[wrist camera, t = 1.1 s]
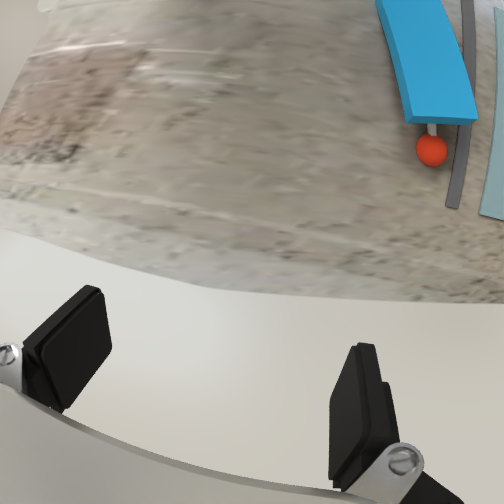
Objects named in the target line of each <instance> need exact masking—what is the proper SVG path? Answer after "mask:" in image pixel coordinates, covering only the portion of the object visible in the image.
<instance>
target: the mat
mask: <svg viewBox="0 0 504 504" xmlns="http://www.w3.org/2000/svg"><path fill="white" fill-rule="evenodd" d="M494 16H495V29H496V52H497V77H496V100H495V114H494V125H493V134H492V142H491V149H490V156H489V162H488V168H487V174H486V179H485V185H484V189H483V194H482V199H481V203H480V208H479V212H478V213H479V214H481V215H485V216H489V217H493V218H497V219H501V220H504V11H503V10H501V9H499V8H497V7H494Z"/></svg>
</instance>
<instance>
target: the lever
mask: <svg viewBox="0 0 504 504" xmlns="http://www.w3.org/2000/svg"><path fill="white" fill-rule="evenodd" d="M375 3H376V7H377V11H378V14H379V17H380V20H381V23H382V26H383V30H384V33H385V36H386V40H387V43H388V47H389V50H390V54H391V58H392V61H393V65H394V69H395V73H396V78H397V82H398V86H399V91H400V95H401V100H402V105H403V110H404V116H405V121H406V123H426V124H427V129H428V134H425V135H423V136H422V137H420V138H419V140H418V142H417V146H416V151H417V155H418V157H419V159H420V160H421V161H422V162H423V163H424V164H426V165H428V166H433V167H434V166H438V165H440V164H442V163H443V162H444V161H445V159H446V157H447V152H448V151H447V145H446V143H445V141H444V140H443V139H442V138H441V137H440V136H438V135H437V134H436V124H452V125H469V124H471V123H472V122H474V121H476V120H478V119H479V118H478V114H477V109H476V105H475V101H474V97H473V93H472V89H471V85H470V81H469V78H468V74H467V71H466V68H465V64H464V61H463V58H462V55H461V52H460V49H459V46H458V43H457V40H456V38H455V35H454V32H453V30H452V27H451V25H450V22H449V20H448V17H447V15H446V12H445V10H444V8H443V5H442V3H441V1H440V0H375Z"/></svg>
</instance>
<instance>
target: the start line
mask: <svg viewBox="0 0 504 504" xmlns="http://www.w3.org/2000/svg"><path fill="white" fill-rule="evenodd" d="M461 9H462V29H463V61H464V64H465V68H466V71H467V74H468V78H469V81H470V85H471V89H472V93H473V97H474V96H475V75H476V35H475V16H474V3H473V0H461ZM471 129H472V123H471V124H469V125H458V134H457V141H456V148H455V155H454V162H453V168H452V173H451V179H450V184H449V189H448V194H447V199H446V204H445V206H448V207H452V208H457V209H458V205H459V201H460V196H461V191H462V186H463V181H464V176H465V170H466V164H467V158H468V152H469V145H470V137H471Z"/></svg>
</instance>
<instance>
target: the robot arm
mask: <svg viewBox="0 0 504 504" xmlns="http://www.w3.org/2000/svg"><path fill="white" fill-rule="evenodd" d="M23 345H24V347H23V348H22V349H21V348H20V346H18V345H17V344H14V343H4V344H1V345H0V504H464V502H463V501H462V500H461V499H460V498H459V497H457V496H456V495H454V494H453V493H452V492H450V491H449V490H448V489H446V488H445V487H444V486H442V485H441V484H439V483H438V482H437V481H435V480H434V479H433V478H431V477H430V476H429V475H428V474H426V473H425V472H424V471H423V468H424V459H423V456H422V454H421V453H420V451H419V450H418V449H417V448H416V447H414V446H412V445H410V444H408V443H403V442H402V443H400V439H399V433H398V426H397V421H396V415H395V410H394V405H393V399H392V394H391V390H390V386H389V383H388V382H382V379H381V374H380V369H379V364H378V359H377V354H376V349H375V346H374V344H368V343H360V342H359V343H358V344H357V346H352V347H351V349H350V351H349V354H348V356H347V359H346V361H345V364H344V366H343V369H342V371H341V374H340V376H339V379H338V381H337V383H336V385H335V388H334V390H333V392H332V395H331V398H330V406H329V408H330V410H329V411H330V416H329V418H330V419H329V423H330V425H329V471H328V478H329V480H333V488H341V492H338V491H333V490H326V489H318V488H311V487H303V486H295V485H288V484H281V483H274V482H269V481H263V480H257V479H252V478H246V477H241V476H236V475H231V474H227V473H223V472H218V471H214V470H210V469H206V468H202V467H199V466H195V465H191V464H188V463H184V462H181V461H178V460H174V459H171V458H168V457H164V456H162V455H158V454H155V453H153V452H149V451H147V450H144V449H141V448H138V447H136V446H133V445H130V444H127V443H125V442H122V441H120V440H118V439H115V438H113V437H110V436H108V435H105V434H103V433H101V432H98V431H96V430H94V429H91V428H89V427H87V426H85V425H83V424H81V423H79V422H77V421H74V420H72V419H70V418H68V417H66V416H64V415H62V413H63V411H64V410H65V409H68V408H69V407H70V406H71V405H72V404H73V402H74V401H75V399H76V398H77V397H78V395H79V394H80V393H81V391H82V390H83V388H84V387H85V386H86V384H87V383H88V382H89V380H90V379H91V378H92V376H93V375H94V374H95V372H96V371H97V370H98V368H99V367H100V366H101V365H102V363H103V362H104V360H105V359H106V358H107V357H108V355H109V354H110V352H111V349H112V342H111V336H110V331H109V325H108V318H107V312H106V305H105V298H104V294H103V293H102V292H101V290H100V289H99V288H97V287H94V286H90V285H85V286H84V287H83V288H82V289H80V290H79V291H78V292H77V293H76V294H75V295H74V296H72V297H71V298H70V299H69V300H68V301H67V302H65V303H64V304H63V305H62V306H61V307H60V308H59V309H58V310H57V311H56V312H54V313H53V314H52V315H51V316H50V317H49V318H48V319H47V320H46V321H45V322H44V323H43V324H41V325H40V326H39V327H38V328H37V329H36V330H35V331H34V332H33V333H32V334H31V335H30V336H29V337H28V338H27V339H26V340H25V341H23ZM49 407H51V408H49Z"/></svg>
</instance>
